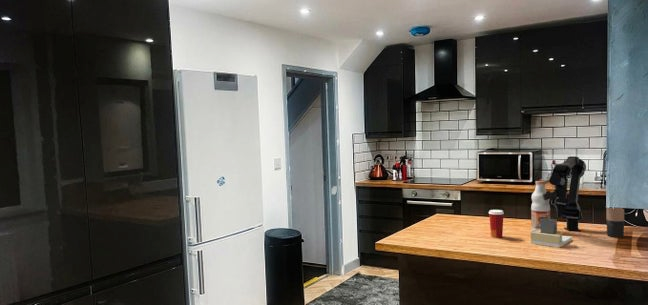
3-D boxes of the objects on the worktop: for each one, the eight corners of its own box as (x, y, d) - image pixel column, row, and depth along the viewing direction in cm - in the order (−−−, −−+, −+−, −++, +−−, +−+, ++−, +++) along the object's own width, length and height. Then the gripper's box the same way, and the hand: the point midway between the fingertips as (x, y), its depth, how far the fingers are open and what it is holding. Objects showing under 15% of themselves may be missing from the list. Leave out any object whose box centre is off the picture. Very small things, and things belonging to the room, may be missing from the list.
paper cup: (504, 235, 236) (504, 209, 235) (504, 238, 229) (503, 212, 228) (489, 234, 239) (488, 209, 238) (488, 237, 232) (487, 211, 231)
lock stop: (544, 237, 221) (544, 218, 221) (557, 239, 217) (556, 219, 216) (540, 239, 218) (540, 219, 217) (553, 241, 213) (553, 221, 213)
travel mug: (627, 238, 221) (627, 199, 220) (610, 238, 223) (610, 199, 222) (620, 234, 229) (620, 196, 228) (604, 234, 230) (603, 197, 229)
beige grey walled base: (545, 236, 231) (544, 225, 231) (572, 239, 222) (571, 229, 222) (530, 243, 218) (530, 232, 218) (559, 247, 209) (559, 236, 208)
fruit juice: (539, 228, 248) (539, 179, 247) (554, 232, 239) (553, 181, 238) (527, 230, 244) (527, 181, 243) (542, 234, 236) (541, 182, 235)
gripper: (542, 187, 241) (539, 216, 239) (546, 184, 224) (543, 215, 222) (564, 190, 237) (562, 219, 235) (570, 187, 220) (568, 218, 218)
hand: (558, 217), depth 227 cm, fingers closed
